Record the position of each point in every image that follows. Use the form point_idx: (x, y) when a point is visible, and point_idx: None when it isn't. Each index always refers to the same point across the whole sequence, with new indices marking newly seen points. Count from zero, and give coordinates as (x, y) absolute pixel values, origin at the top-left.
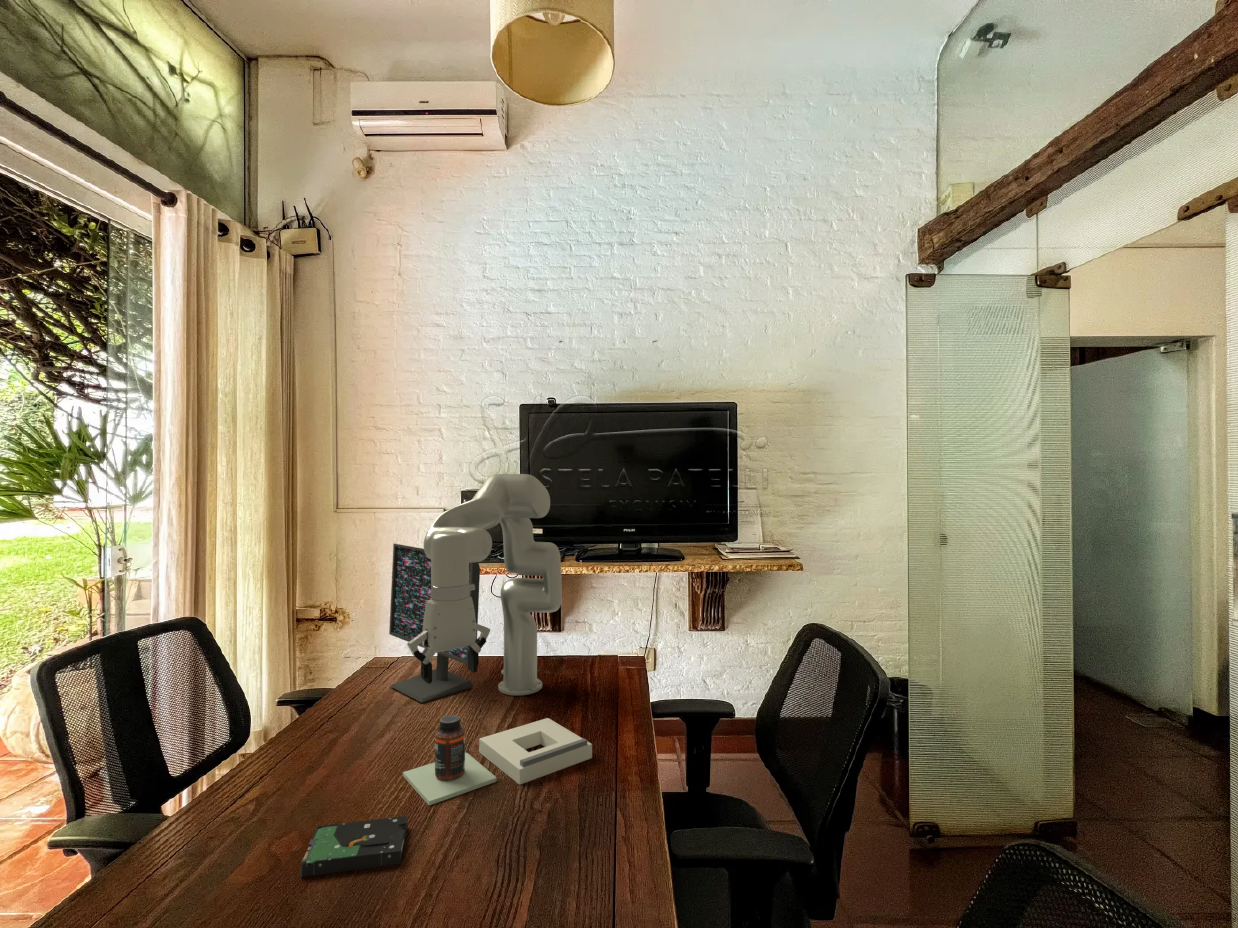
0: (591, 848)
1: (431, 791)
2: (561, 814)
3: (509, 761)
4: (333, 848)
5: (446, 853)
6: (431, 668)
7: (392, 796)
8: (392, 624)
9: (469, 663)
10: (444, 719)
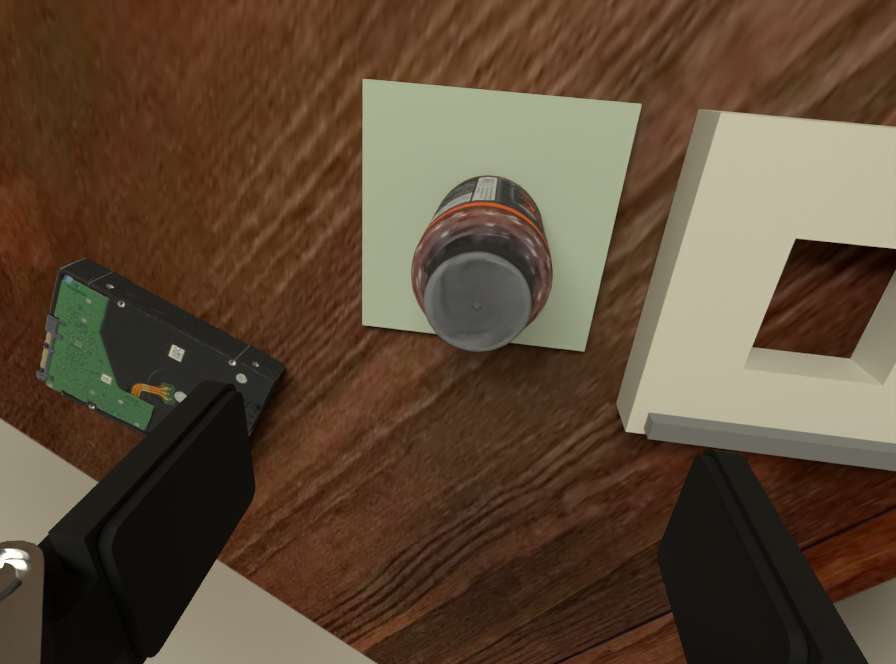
0: (540, 635)
1: (389, 282)
2: (584, 549)
3: (644, 372)
4: (99, 380)
5: (325, 490)
6: (177, 609)
7: (295, 195)
8: None
9: (708, 539)
10: (449, 293)
